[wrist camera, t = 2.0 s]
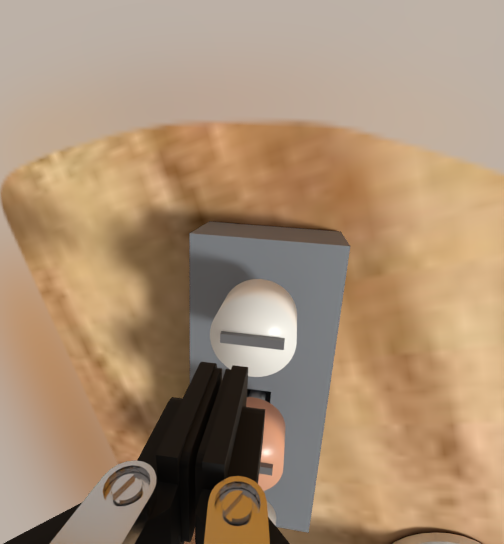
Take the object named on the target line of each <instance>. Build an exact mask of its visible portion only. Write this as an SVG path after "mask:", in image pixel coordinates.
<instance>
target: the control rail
mask: <svg viewBox="0 0 504 544" xmlns="http://www.w3.org/2000/svg"><path fill="white" fill-rule="evenodd" d="M349 251H350V245H349V244H348V242H347V241H346V239H345V238H344V236H343V234H342V233H341V232H339V231H326V230H313V229H300V228H287V227H274V226H261V225H248V224H235V223H222V222H208V223H206V224H204V225H203V226H201V227H199V228H198V229H196V230H194V231H193V232H191V233H190V383H191V380H192V378H193V376H194V374H195V372H196V370H197V368H198V366H199V364H200V362H209V363H216V364H217V368H222V379H223V376H224V373H225V370H226V369H229V368H228V367H226V366H225V365H224V364H223V363H222V362H221V361H220V360H219V359H218V357H217V356H216V354H215V353H214V350H213V348H212V345H211V341H210V329H211V324H212V322H213V319H214V318H215V316H216V314H217V312H218V311H219V309H220V307H221V305H222V304H223V302H224V300H225V298H226V297H227V295H228V293H229V292H230V291H231V290H232V289H233V288H234V287H235V286H237V285H238V284H240V283H242V282H244V281H247V280H251V279H264V280H269V281H272V282H274V283H277V284H278V285H280V286H281V287H283V288H284V289H285V290H286V291H287V292H288V293H289V294H290V295H291V297H292V299H293V300H294V303H295V305H296V309H297V344H296V349H295V352H294V355H293V357H292V359H291V360H290V361H289V363H288V364H287V365H286V366H285V367H284V368H282V369H281V370H280V371H278V372H276V373H274V374H271V375H268V376H263V377H250V376H248V385H247V397H249V395H250V391H251V390H252V389H254V390H262V391H265V394H266V397H265V401H267V402H269V403H270V404H272V405H273V406H275V407H276V408H277V409H278V410H279V412H280V413H281V415H282V416H283V418H284V421H285V447H284V465H283V473H282V476H281V478H280V480H279V481H278V482H277V483H276V484H275V485H274V486H273V487H271V488H270V489H267V490H265V491H264V493H265V496H266V500H267V501H268V502H269V503H270V504H271V506H272V507H273V509H274V511H275V513H276V527H280V528H285V529H291V530H297V531H302V532H308V533H309V526H310V519H311V512H312V506H313V499H314V492H315V485H316V478H317V471H318V464H319V457H320V451H321V444H322V437H323V430H324V423H325V416H326V409H327V402H328V395H329V389H330V382H331V375H332V368H333V361H334V354H335V347H336V340H337V334H338V327H339V320H340V313H341V306H342V299H343V292H344V285H345V279H346V272H347V265H348V258H349Z"/></svg>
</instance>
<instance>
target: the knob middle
mask: <svg viewBox="0 0 504 544" xmlns="http://www.w3.org/2000/svg"><path fill="white" fill-rule="evenodd" d="M265 397H266V394H265V391H262V390H254V389H252V390H251V391H250V395H249V397H247V402H246V407H251V408H258V409H265V422H264V434H263V445H262V454H261V462H260V471H259V479H258V485H259V486H260V487H261V488H262V490H263V491H265V490H267V489H270V488H271V487H273V486H274V485H275V484H276V483H277V482H278V481H279V480H280V478H281V476H282V473H283V465H284V447H285V421H284V418H283V416H282V415H281V413H280V412H279V410H278V409H277V408H276V407H275V406H273V405H272V404H270V403H269V402H267V401H265Z"/></svg>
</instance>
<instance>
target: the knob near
mask: <svg viewBox="0 0 504 544" xmlns="http://www.w3.org/2000/svg"><path fill="white" fill-rule="evenodd" d="M210 341H211V345H212V348H213V350H214V353H215V354H216V356H217V357H218V359H219V360H220V361H221V362H222V363H223V364H224V365H225V366H226V367H228V368H229V369H231V368H232V366H233V365H235V366H243V367H248V376H250V377H263V376H268V375H271V374H274V373H276V372H278V371H280V370H281V369H282V368H284V367H285V366H286V365H287V364H288V363H289V361H290V360H291V359H292V357H293V355H294V352H295V349H296V344H297V309H296V305H295V303H294V300H293V299H292V297H291V295H290V294H289V293H288V292H287V291H286V290H285V289H284V288H283V287H281V286H280V285H278V284H277V283H274V282H272V281H269V280H264V279H251V280H247V281H244V282H242V283H240V284H238V285H237V286H235V287H234V288H233V289H232V290H231V291H230V292H229V293H228V295H227V297H226V298H225V300H224V302H223V304H222V305H221V307H220V309H219V311H218V312H217V314H216V316H215V318H214V319H213V322H212V324H211V329H210Z"/></svg>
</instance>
